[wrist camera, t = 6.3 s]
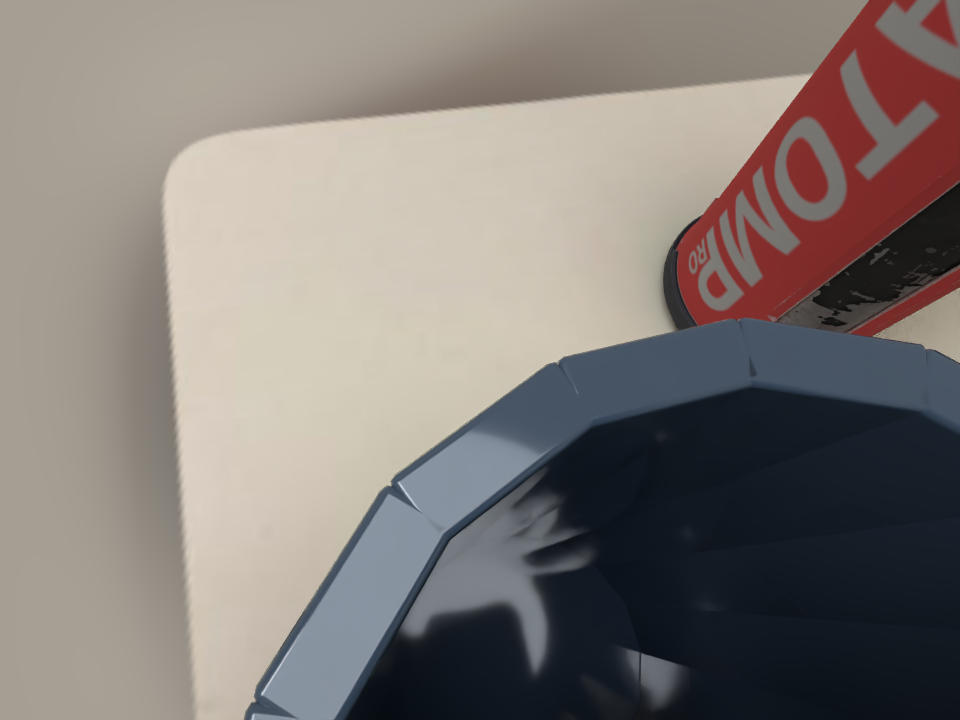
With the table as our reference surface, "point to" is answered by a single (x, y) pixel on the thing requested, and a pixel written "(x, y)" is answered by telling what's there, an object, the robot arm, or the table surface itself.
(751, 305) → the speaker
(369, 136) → the table surface
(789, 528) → the tumbler
